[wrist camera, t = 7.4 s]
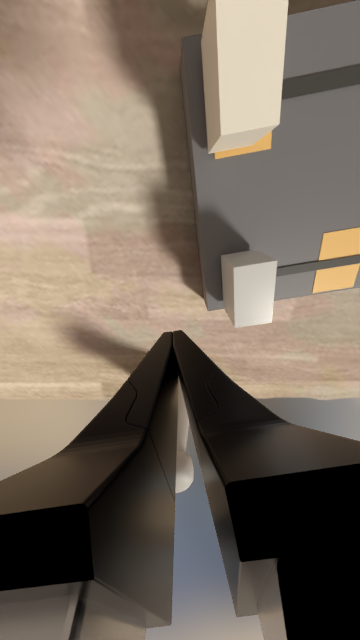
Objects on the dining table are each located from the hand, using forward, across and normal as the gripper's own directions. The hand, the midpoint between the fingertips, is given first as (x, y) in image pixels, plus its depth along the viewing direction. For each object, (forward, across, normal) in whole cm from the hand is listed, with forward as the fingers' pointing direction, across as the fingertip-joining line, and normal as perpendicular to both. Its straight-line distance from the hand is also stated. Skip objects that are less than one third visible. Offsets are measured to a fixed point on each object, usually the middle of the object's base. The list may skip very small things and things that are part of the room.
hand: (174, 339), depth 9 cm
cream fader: (+10, -5, -11) cm, 15 cm away
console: (+13, -11, -5) cm, 18 cm away
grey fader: (+10, -6, +1) cm, 12 cm away
